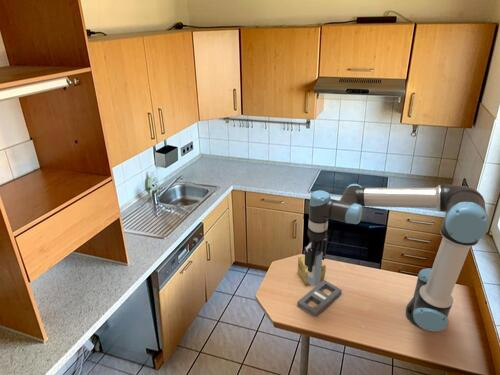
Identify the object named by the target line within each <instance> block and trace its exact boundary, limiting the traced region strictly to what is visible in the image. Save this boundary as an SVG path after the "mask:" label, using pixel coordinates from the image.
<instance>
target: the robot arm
mask: <svg viewBox="0 0 500 375" xmlns="http://www.w3.org/2000/svg"><path fill="white" fill-rule="evenodd" d="M363 207H366V208H367V207H368V208H369V207H370V208H371V207H373V208H378V207H379V208H405V209H407V208H408V209H409V208H413V209H436V210H437V211H438V212H445V214H444V218H443V221H442V224H441V226H440V230H439V232H440V234H441V237H442V239H441V242H440V244H439V247H438V249H437V250H438V251H437V253H436V256H435V258H434V262H433V263H432V264H433V265H432V268H430V267H429V268H427V267H426V268H422V269H421V270H420V271H419V272H418V274H417V280H416V284H415V289H414V292H413V297H412V298H411V299H410V300H409V302H408V303H407V304H406V307H405V316H406V318H407V319H408V320H409V322H411V323H412V325H414V324H415V325H414V326H416V325H417V326H416V327H418V328H420V327H421V328H420V329H423V330H425V331H430V332H438V331H439V332H440V331H443V330H445V329H446V328H447V327H448V324H449V314H450V311H451V308H452V306H453V304H454V298H453V296H452V293H453V290H454V288H455V286H456V284H457V281H458V279H459V276H460V273H461V271H462V269H463V266H464V264H465V261H466V258H467V256H468V253H469V251H470V248H471V247H474V246H476V245H478V242H479V241H480V240H481V239H483V238H484V236H485V235H486V234H487V231H488V228H489V224H490V223H489V216H488V213H487V209H486V208H487V207H486V201H485V198H484V196H483V195H482V194H481V193H480V192H479V191H478V190H476V189H474V188H472V187H469V186H466V185H458V184H439V185H437V186H436V187H362V186H361V185H360V184H358V183H351V184H349V185H348V186H347V187H345V189H344V191H343V194H342V196H341V197H340V199H338V200H337V199H334V198H332V197H331V195H330V193H329V192H327V191H325V190H314V191H312V192H311V193H310V198H309V208H308V209H309V210H308V225H307V226H308V228H307V236H308V238H309V242H308V245H307V246H306V245H305V246H304V247H303V249H304V256H305V265H306V266H308V276H309V277H311V278H314V271H315V265H314V261H315V256H316V252H317V251H318V250H319V251H322V252H323V255H322V261H325V257H326V255H327V246H328V239H329V238H330V236H329V235H328V227H329V220H334V221H338V222H343V223H346V224H353V225H357V224H359V223H360V222H361V219H362V216H363V214H362V213H363Z"/></svg>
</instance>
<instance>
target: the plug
mask: <svg viewBox="0 0 500 375" xmlns="http://www.w3.org/2000/svg"><path fill="white" fill-rule="evenodd" d="M322 255H323V252H322V251H319V250H318V251H317V252H316V256H315V261H314V265H315V271H314V278H311V277H309V276H308V274H307V283H309V284H308V285H311V286H313V288H314V287H316V286H317V285H318V284H319V283H320V277H321V266H322V262H323V260H322Z"/></svg>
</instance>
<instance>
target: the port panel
mask: <svg viewBox="0 0 500 375" xmlns="http://www.w3.org/2000/svg"><path fill="white" fill-rule="evenodd" d="M325 289H327V290H328V291H330V292H331V293H330V294H327V293H325V292H323V290H325ZM342 291H343V290H342V289H341V288H339V287H337V285H334V284H332V283H331V282H329V281H327V280H325V279H324V280H323V281H322V282H320V283H318V284H317V285H316V286H315V287H314V286H313V288H312V289H311V290H309V292H307V293H306V294H305V295H303V296H302V297H301V298H300V299H299V300H297V305H296V306H297V307H299V308H300V309H301V310H303V311H304V312H306V313H308V315H311V316H312V317H314V318H317V316H319V315H320V314H321V313H323V312H324V311H325V309H327V307H328V306H330V305H331V304H332V303H333V302H335V300H336V299H338V297H340V296H341V295H342ZM310 301H312V302H314V303H315V304H317V305H316V306H315V307H312V306H310V305H309V304H308V303H309V302H310Z"/></svg>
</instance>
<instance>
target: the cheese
mask: <svg viewBox="0 0 500 375" xmlns="http://www.w3.org/2000/svg"><path fill="white" fill-rule="evenodd" d="M326 266H327V265H326V264H325V263H324V262H323V261H322V266H321V277H320V282H322V281H323V280H325V276H326V270H327V268H326ZM297 273H298V275H299V276H300V278H301V279H302V283H303V284H304V285H305V286H308V285H310V284H309V283H307V274H308V266H306V265H305V255H303V256H298V258H297Z"/></svg>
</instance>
